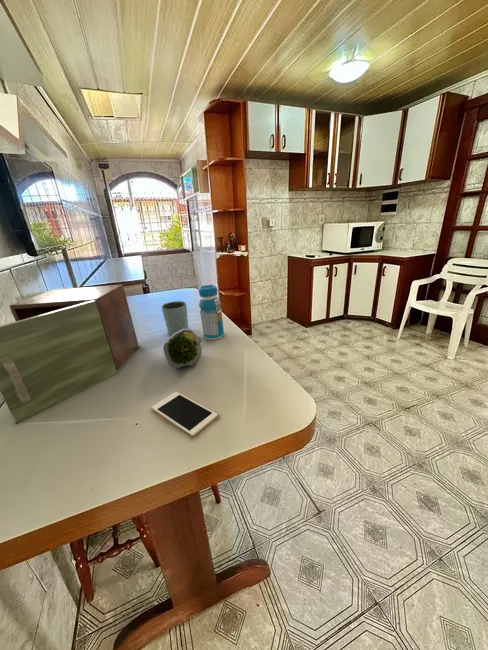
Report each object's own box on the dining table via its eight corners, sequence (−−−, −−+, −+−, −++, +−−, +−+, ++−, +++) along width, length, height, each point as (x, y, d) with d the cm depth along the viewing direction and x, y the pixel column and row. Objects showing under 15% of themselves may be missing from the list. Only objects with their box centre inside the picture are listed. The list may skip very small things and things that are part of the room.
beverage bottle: (207, 342, 101) (199, 291, 94) (201, 334, 109) (193, 286, 101) (227, 337, 104) (222, 287, 97) (220, 329, 111) (214, 283, 104)
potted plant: (205, 340, 95) (217, 345, 81) (183, 370, 92) (191, 381, 78) (177, 320, 91) (184, 322, 77) (154, 351, 88) (157, 359, 75)
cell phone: (176, 393, 72) (176, 391, 72) (218, 416, 63) (218, 414, 62) (151, 409, 67) (150, 407, 67) (192, 437, 57) (192, 434, 57)
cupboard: (117, 371, 86) (95, 298, 77) (39, 376, 88) (8, 305, 78) (138, 346, 103) (123, 284, 94) (72, 350, 104) (50, 289, 95)
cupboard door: (127, 378, 82) (105, 303, 73) (24, 433, 62) (-23, 340, 53) (114, 371, 86) (92, 300, 77) (15, 421, 67) (-30, 334, 58)
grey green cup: (177, 325, 120) (173, 300, 116) (195, 328, 115) (191, 301, 111) (161, 334, 112) (155, 307, 107) (180, 337, 107) (174, 309, 103)
